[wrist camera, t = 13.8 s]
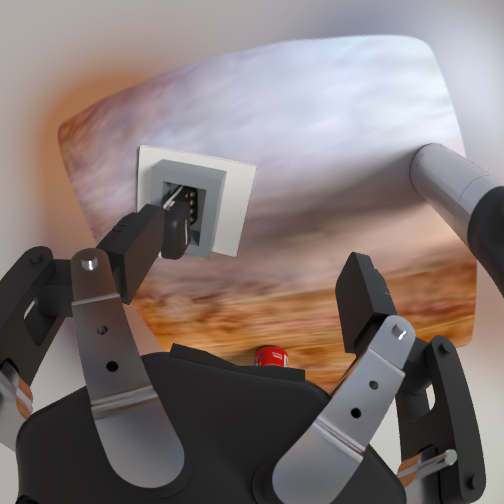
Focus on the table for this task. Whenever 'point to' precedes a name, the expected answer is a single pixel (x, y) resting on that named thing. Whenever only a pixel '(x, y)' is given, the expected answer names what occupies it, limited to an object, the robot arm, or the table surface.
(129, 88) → the table surface
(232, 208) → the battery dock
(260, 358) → the soda can
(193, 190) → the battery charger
